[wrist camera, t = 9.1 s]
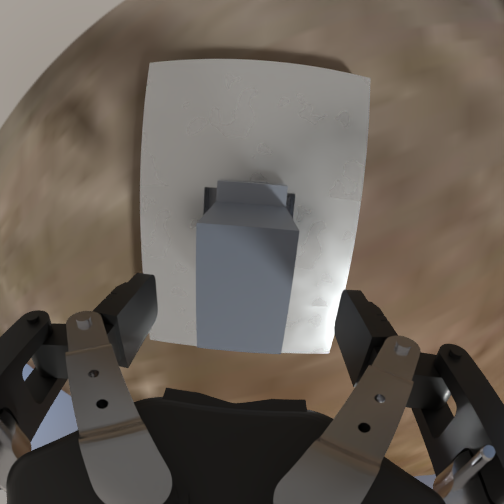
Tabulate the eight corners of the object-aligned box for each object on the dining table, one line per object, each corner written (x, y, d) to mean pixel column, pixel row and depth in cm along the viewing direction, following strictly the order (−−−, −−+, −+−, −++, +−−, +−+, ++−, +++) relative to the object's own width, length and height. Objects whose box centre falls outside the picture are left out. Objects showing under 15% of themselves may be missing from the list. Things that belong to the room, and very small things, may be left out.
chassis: (360, 84, 16) (370, 78, 14) (324, 340, 22) (328, 353, 21) (158, 70, 16) (149, 62, 14) (156, 327, 22) (150, 339, 20)
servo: (283, 182, 18) (303, 200, 10) (271, 298, 21) (277, 371, 13) (222, 177, 18) (197, 192, 10) (217, 293, 21) (197, 365, 13)
